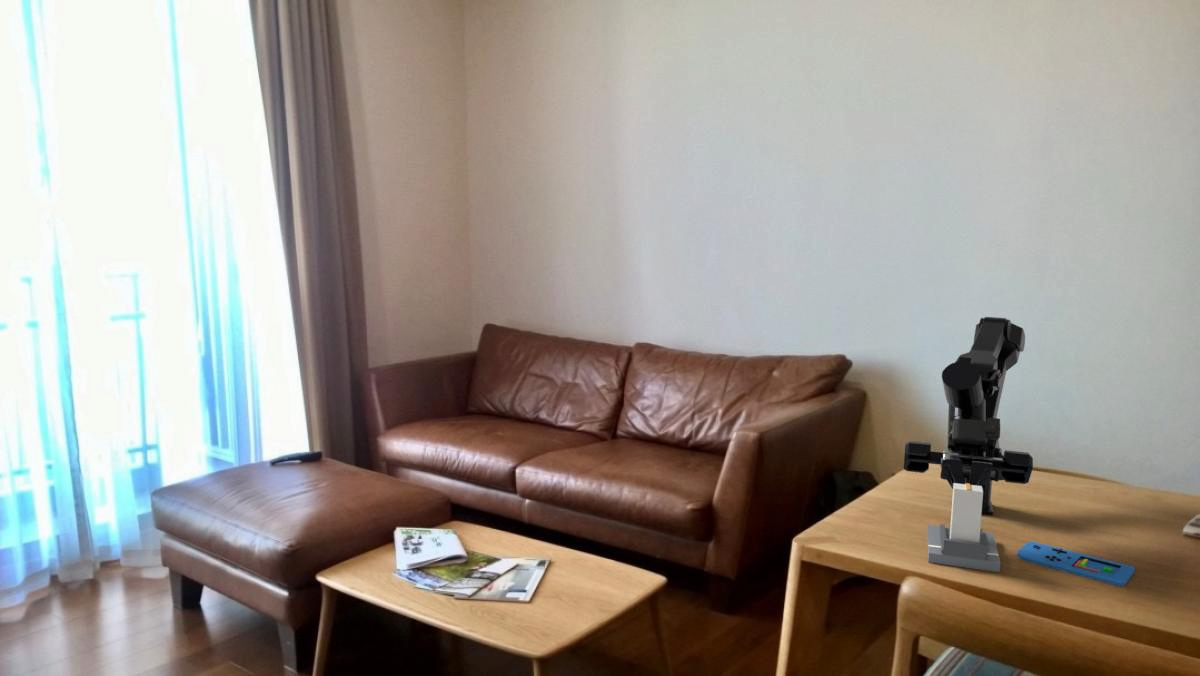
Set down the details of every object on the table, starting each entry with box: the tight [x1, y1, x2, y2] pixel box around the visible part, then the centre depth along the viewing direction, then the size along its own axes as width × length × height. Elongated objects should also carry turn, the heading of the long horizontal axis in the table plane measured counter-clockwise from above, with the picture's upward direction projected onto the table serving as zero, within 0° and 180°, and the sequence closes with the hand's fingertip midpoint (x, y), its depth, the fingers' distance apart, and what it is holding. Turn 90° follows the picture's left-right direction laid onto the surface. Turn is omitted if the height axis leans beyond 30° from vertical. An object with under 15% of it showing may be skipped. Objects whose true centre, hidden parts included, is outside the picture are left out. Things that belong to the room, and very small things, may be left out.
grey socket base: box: [926, 523, 1001, 573], centre depth 132 cm, size 13×10×4 cm
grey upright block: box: [950, 483, 983, 543], centre depth 128 cm, size 3×4×10 cm
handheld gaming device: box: [1016, 541, 1136, 587], centre depth 128 cm, size 8×1×15 cm
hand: (965, 509), depth 130 cm, fingers closed, pressing on grey upright block
